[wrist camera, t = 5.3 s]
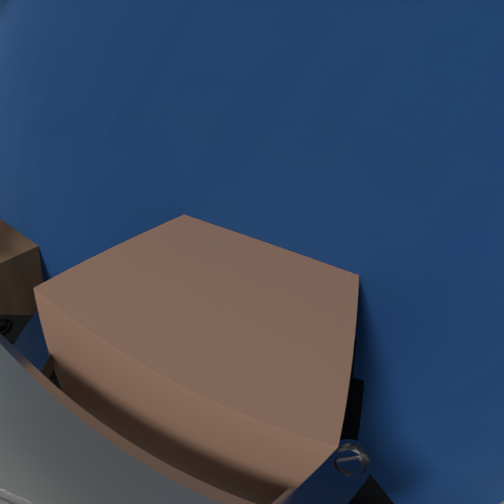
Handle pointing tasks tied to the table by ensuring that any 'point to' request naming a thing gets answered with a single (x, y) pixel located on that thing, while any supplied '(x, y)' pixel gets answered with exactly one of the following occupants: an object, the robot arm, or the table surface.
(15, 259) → the tower base
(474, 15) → the table surface
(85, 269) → the terracotta block
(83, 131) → the table surface
